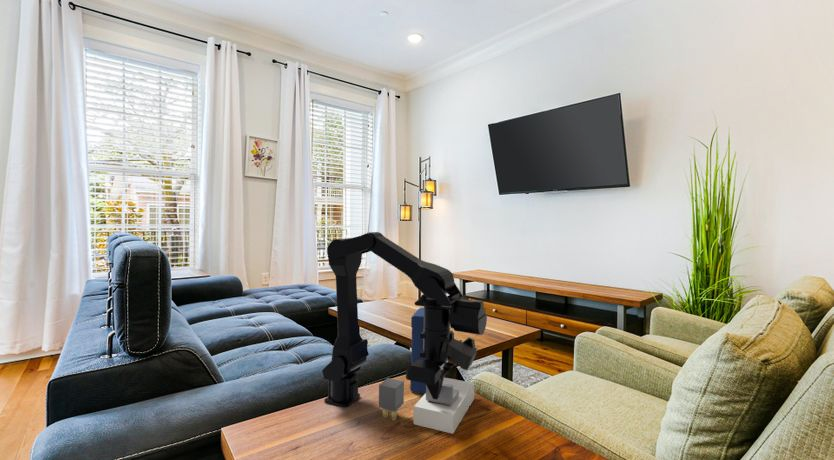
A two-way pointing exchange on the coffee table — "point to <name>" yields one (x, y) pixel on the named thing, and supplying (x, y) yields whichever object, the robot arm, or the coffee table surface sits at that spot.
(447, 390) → the grey block
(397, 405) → the plug
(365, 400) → the coffee table surface
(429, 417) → the power strip
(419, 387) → the electronic device
